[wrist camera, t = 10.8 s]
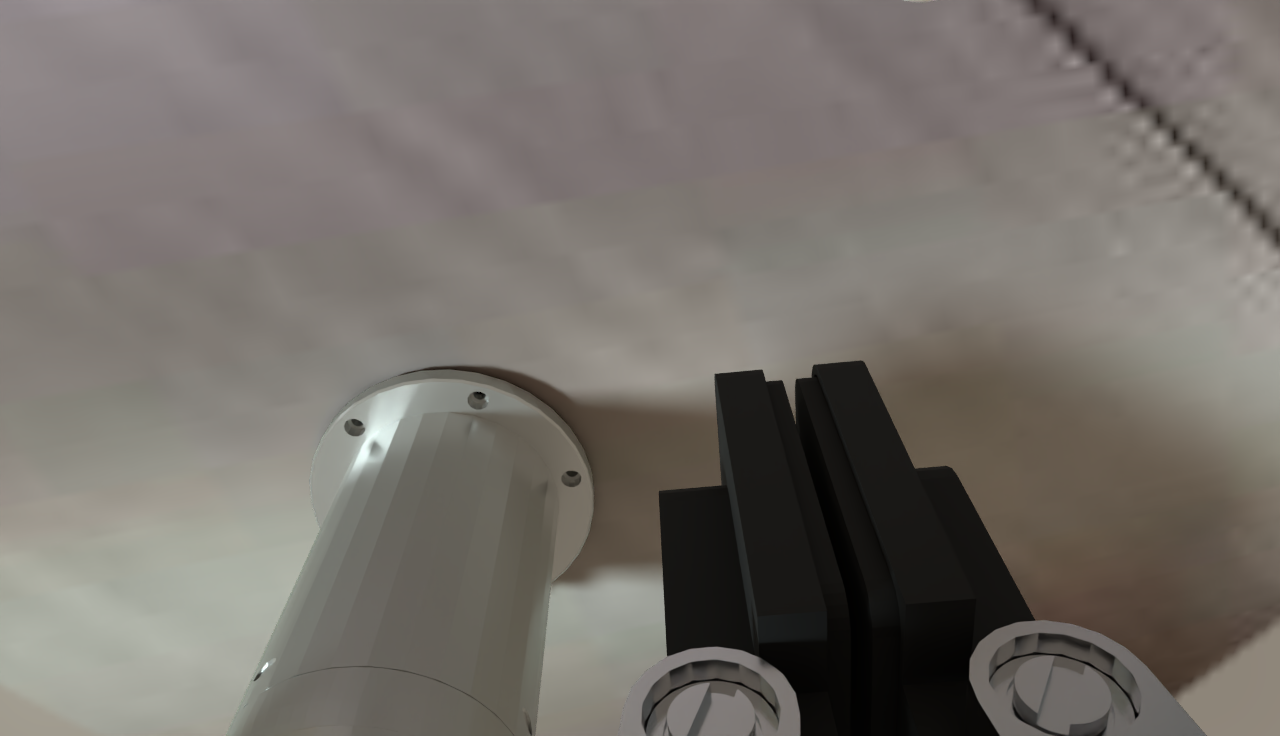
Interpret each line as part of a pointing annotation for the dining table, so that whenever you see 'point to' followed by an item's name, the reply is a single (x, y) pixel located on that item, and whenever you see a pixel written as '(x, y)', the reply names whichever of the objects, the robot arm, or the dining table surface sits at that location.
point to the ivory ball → (920, 0)
